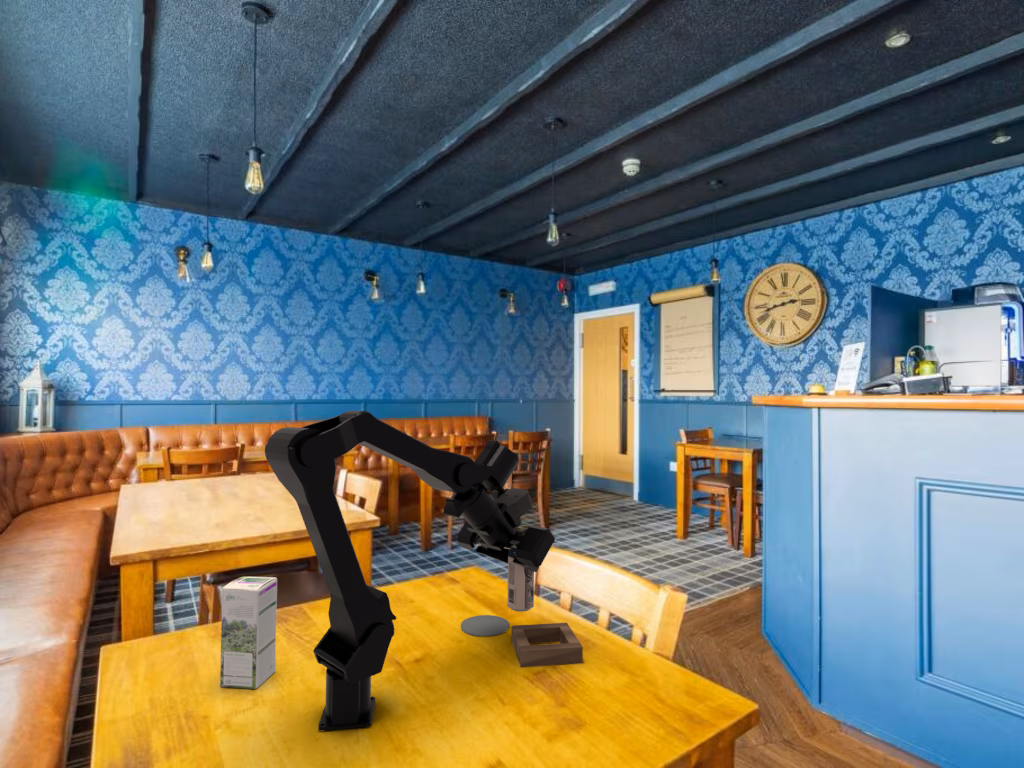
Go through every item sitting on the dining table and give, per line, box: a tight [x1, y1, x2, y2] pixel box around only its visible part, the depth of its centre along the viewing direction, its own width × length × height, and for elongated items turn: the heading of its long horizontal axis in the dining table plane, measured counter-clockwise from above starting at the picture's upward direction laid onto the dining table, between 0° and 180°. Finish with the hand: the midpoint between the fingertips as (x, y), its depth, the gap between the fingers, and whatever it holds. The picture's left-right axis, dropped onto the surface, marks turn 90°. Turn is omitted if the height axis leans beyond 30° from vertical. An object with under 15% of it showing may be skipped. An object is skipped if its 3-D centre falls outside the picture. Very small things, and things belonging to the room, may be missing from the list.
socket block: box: [510, 622, 584, 668], centre depth 92 cm, size 10×10×2 cm
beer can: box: [506, 545, 535, 612], centre depth 97 cm, size 5×5×12 cm
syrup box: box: [219, 575, 278, 690], centre depth 82 cm, size 6×6×14 cm
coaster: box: [460, 614, 510, 638], centre depth 102 cm, size 9×9×1 cm
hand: (526, 566), depth 98 cm, fingers closed on beer can, 5 cm apart
